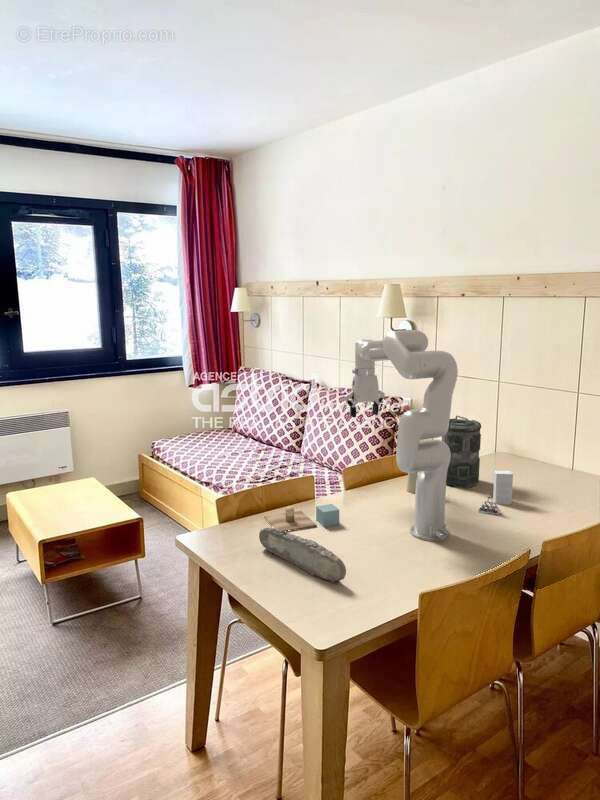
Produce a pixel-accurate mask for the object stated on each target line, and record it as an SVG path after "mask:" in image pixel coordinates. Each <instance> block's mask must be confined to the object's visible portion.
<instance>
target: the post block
mask: <svg viewBox="0 0 600 800" xmlns="http://www.w3.org/2000/svg"><path fill="white" fill-rule="evenodd" d="M284 512H285V513H279V514H273V515H272V514H271V515H265V516H264V517H263V518H265V519H266V520H267V521H268V522H269V523H270V524H271V525H272V526H273V527H274V528H275V529H278V530H280V531H288V530H295V529H301V530H304V529H303V528H307V529H311V527H313V528H317V526H318V525H317V524H316V523H315V522H314V521H313V520H312V519H311V518H310V517H309V516H308V515H306V514H305V513H304V512H303V511H302V510H298V511H295V507H293V506H286V507H285V511H284ZM265 519H264V520H265ZM266 520H265V521H266ZM267 521H266V522H267ZM268 522H267V523H268ZM269 523H268V524H269ZM270 524H269V525H270ZM271 525H270V526H271ZM272 526H271V527H272ZM295 531H296V530H295Z"/></svg>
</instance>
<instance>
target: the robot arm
mask: <svg viewBox="0 0 600 800" xmlns="http://www.w3.org/2000/svg"><path fill="white" fill-rule="evenodd" d="M354 346H355V347H354V358H355V359H354V369H352V371H351V372H352V374H354V375H353V378H352V382H351V390H350V391H349V392H348V393H346V394H345V395H344V396H343V399H344V401H345V403H346V404H347V405H348V406H349V414H350V417H352V418H354V419H355V418H356V417H357V407H356V405H357V404H358V403H371V402H372V403H373V404H372V412H371V413H372V414H373V415H375V416H378V415H379V413H380V411H379V410H380V409H379V408H380V407H379V406H380V405H381V402H382V401H383V399H384V397H385V395H386V394H385V392H383V391H382V390H380V389H379V388H380V387H379V380H378V376H377V374H375V373H376V362H382V361H390V362H391V364H392V365H393V366H394V368H395V369H396V370H397V372H398V374H399V375H400V376H401V377H402V378H404V379H406V380H423V379H432V381H431V382H430V383H429V385H428V386H427V388H426V390H425V392H424V394H423V403H422V406H421V408H418V409H416V408H415V409H413V410H412V409H411V410H409V411H408V410H406V411H405V412H404V413H403V414H402V415H400V416H401V417H400V419H399V422H398V429H397V435H398V436H397V439H396V440H397V441H396V449H395V450H396V451H395V453H396V454H395V459H396V465H397V467H398V469H399V470H400V471H401V472H403V473H406V474H408V473H415V472H417V473H418V477H417V480H416V493H415V499H414V500H415V501H414V503H415V505H414V524H413V525H412V526H410V528H409V534H410V535H411V536H412V537H414V538H415V539H418V540H421V541H426V542H440V541H444V540H447V539H448V538H449V537H450V532H449V529H448V528H447V527H446V524H445V521H446V520H445V519H446V516H445V515H446V495H447V494H446V492H447V485H446V478H447V471H448V466H449V462H450V456H451V454H450V449H449V447H448V445H447V444H446V443H445V442H443V441H442V439H441V440H440V439H436V438H440V437H441V438H442V436H444V435H445V434H446V433H447V431H448V427H449V420H450V419H451V411H452V401H453V395H454V390H455V388H456V383H457V381H458V374H459V373H458V371H459V370H458V365H457V364H458V363H457V361H456V359H455V358H454V356H453V355H452V353H449V352H447V351H444V350H427V348H428V346H429V338H428V336H427V335H426V333H424V332H422V331H420V330H417V329H405V330H404V329H403V330H391V331H389V332H388V333H387V334H386V335H385V336H384V339H383V340H382V339H381V340H380V339H379V340H373V339H364V338H363V339H357V340H356V341H355V344H354ZM350 398H351V400H350Z"/></svg>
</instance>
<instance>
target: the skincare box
mask: <svg viewBox="0 0 600 800" xmlns="http://www.w3.org/2000/svg"><path fill="white" fill-rule="evenodd" d="M493 471H494V472H493V495H492V496H493V499H492V502H494V503H496V505H512V501H513V482H514V480H513V479H514V474H513V472H512V471H511V470H493Z"/></svg>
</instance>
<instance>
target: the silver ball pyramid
mask: <svg viewBox="0 0 600 800" xmlns="http://www.w3.org/2000/svg"><path fill="white" fill-rule="evenodd" d="M486 498H487V500H484V503H482V504H481V506H480V507H479V508H478V513H480V514H487V515H493V516H497V517H498V516H499V515H501V510H500V508H499V507H498V504H496V503H495V502H494V501H490V500H489V499H491V500H493V495H492V493H490V494H489V496H487V497H486Z"/></svg>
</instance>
